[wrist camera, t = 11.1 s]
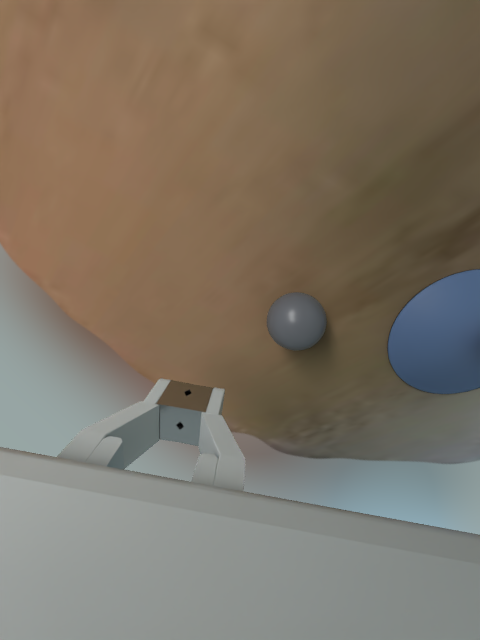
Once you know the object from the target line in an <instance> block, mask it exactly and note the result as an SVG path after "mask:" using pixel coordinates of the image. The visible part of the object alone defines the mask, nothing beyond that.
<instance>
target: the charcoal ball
mask: <svg viewBox="0 0 480 640" xmlns="http://www.w3.org/2000/svg"><path fill="white" fill-rule="evenodd" d="M326 323H327V321H326V314H325V311H324V309H323V307H322V305H321V304H320V303H319V302H318V301H317V300H316V299H315V298H313V297H312V296H310V295H308V294H305V293H298V292H295V293H289V294H286V295H283V296H281V297H280V298H278V299H277V300H276V301H275V302H274V303H273V304H272V306H271V308H270V309H269V312H268V315H267V327H268V331H269V333H270V335H271V337H272V338H273V340H274V341H275V342H276V343H277V344H279V345H280V346H282V347H284V348H286V349H289V350H304V349H307V348H310V347H312V346H313V345H315V344H316V343H317V342H318V341H319V340H320V339H321V337H322V336H323V334H324V332H325V329H326Z"/></svg>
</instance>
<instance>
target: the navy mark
mask: <svg viewBox="0 0 480 640" xmlns="http://www.w3.org/2000/svg"><path fill="white" fill-rule="evenodd" d="M388 356H389V360H390V363H391V365H392V367H393V369H394V371H395V372H396V373H397V375H398V376H399V377H400V378H401V379H402V380H403V381H405V382H406V383H407V384H409V385H411V386H413V387H414V388H416V389H419V390H422V391H426V392H430V393H438V394H452V393H460V392H466V391H470V390H473V389H477V388H479V387H480V269H477V270H470V271H464V272H460V273H456V274H453V275H450V276H448V277H445V278H442V279H440V280H439V281H437V282H435V283H433V284H431V285H429V286H428V287H426V288H425V289H423V290H422V291H421V292H419V293H418V294H417V295H416V296H414V297H413V298H412V299H411V300H410V301H409V302H408V303H407V304H406V305H405V307H404V308H403V309H402V310H401V312H400V313H399V315H398V316H397V318H396V319H395V322H394V324H393V326H392V328H391V331H390V334H389V339H388Z"/></svg>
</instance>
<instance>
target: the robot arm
mask: <svg viewBox="0 0 480 640" xmlns="http://www.w3.org/2000/svg"><path fill="white" fill-rule="evenodd" d="M224 394H225V389H221V388H212V387H206V386H200V385H194V384H189V383H184V382H179V381H173V380H167V379H162V378H161V379H159V380H158V381H157V383H156V384H155V386H154V387H153V389H152V390H151V391H150V393H149V394H148V396H147V397H146V399H145V400H144V401H143V402H138V403H135V404H133V405H131V406H129V407H127V408H125V409H123V410H121V411H119V412H117V413H115V414H113V415H111V416H109V417H107V418H105V419H103V420H101V421H99V422H97V423H95V424H93V425H90V426H88V427H86V428H85V429H83V430H81V431H80V432H79V433H78V434H77V435H76V436H75V438H74V439H73V440H72V441H71V442H70V443H69V444H68V445H67V446H66V447H65V449H63V451H62V452H61V453H60V454H59V455H58V456H57V457H52V456H47V455H41V454H36V453H30V452H25V451H19V450H13V449H9V448H3V447H0V640H480V535H478V534H472V533H467V532H461V531H456V530H450V529H445V528H440V527H434V526H429V525H423V524H418V523H412V522H407V521H401V520H396V519H390V518H385V517H380V516H374V515H369V514H363V513H358V512H352V511H347V510H341V509H336V508H330V507H325V506H320V505H313V504H309V503H303V502H298V501H292V500H286V499H281V498H276V497H270V496H265V495H260V494H254V493H248V492H243V489H244V474H245V458H244V456H243V454H242V452H241V450H240V448H239V447H238V445H237V443H236V441H235V439H234V437H233V435H232V433H231V431H230V429H229V428H228V426H227V424H226V422H225V420H224V418H223V416H221V415H222V408H223V401H224ZM159 439H162V440H168V441H175V442H181V443H185V444H190V445H195V446H199V450H200V454H201V455H199V458H198V461H197V465H196V468H195V471H194V475H193V478H192V481H191V482H189V481H183V480H178V479H172V478H167V477H161V476H156V475H151V474H145V473H140V472H134V471H129V470H124V469H125V468H126V467H127V466H128V465H129V464H131V463H132V462H133V461H134V460H136V459H137V458H138V457H139V456H141V455H142V454H143V453H144V452H146V451H147V450H148V449H149V448H150V447H152V446H153V445H154V444H155V443H157V442H158V441H159Z"/></svg>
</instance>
